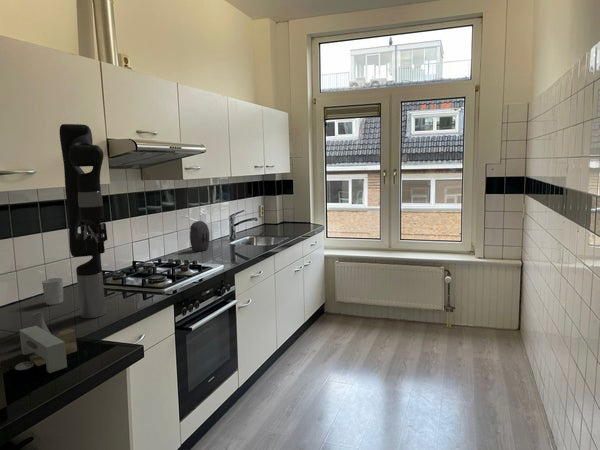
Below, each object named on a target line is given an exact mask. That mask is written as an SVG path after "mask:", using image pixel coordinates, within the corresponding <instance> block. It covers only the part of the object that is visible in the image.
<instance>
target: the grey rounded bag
mask: <svg viewBox="0 0 600 450" xmlns="http://www.w3.org/2000/svg"><path fill="white" fill-rule="evenodd" d="M210 236H211V235H210V230H209V227H208V224H207V223H205V222H204V221H203V220H198V221H194V222H193V223H192V224H191V225H190V232H189V241H190V246H191V250H192V251H194V252H202V251H205V250H208V249H209V246H210V245H209V244H210Z"/></svg>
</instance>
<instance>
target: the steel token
mask: <svg viewBox="0 0 600 450" xmlns="http://www.w3.org/2000/svg"><path fill="white" fill-rule="evenodd" d="M34 366H35V364H34V362H32V361H30V360H28V361H23V362H20V363H18V364H16V365H15V366H14V369H15V370H16V371H25V370H28V369H31V368H33V367H34Z"/></svg>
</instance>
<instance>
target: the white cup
mask: <svg viewBox="0 0 600 450" xmlns="http://www.w3.org/2000/svg"><path fill="white" fill-rule="evenodd" d="M41 284H42V290H43V296H44V300H45V304H46V305H47V306H49V305H50V306H52V305H57V304H62V303H63V302H64V282H63V278H62V277H54V278H53V277H52V278H47V279H43V280H42V281H41Z"/></svg>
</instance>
